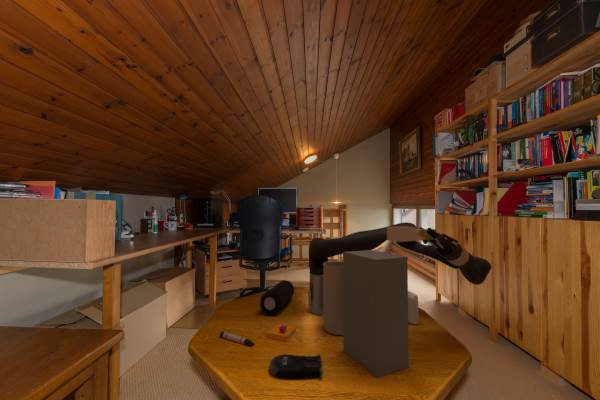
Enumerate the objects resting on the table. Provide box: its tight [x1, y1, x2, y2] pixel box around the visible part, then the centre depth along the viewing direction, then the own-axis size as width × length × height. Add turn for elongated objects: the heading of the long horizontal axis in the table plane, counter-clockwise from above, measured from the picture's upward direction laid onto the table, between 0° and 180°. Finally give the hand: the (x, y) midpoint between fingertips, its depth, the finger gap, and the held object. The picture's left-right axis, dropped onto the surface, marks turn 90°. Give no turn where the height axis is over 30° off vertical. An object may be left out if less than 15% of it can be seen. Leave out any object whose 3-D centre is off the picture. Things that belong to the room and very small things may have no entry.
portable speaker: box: [259, 279, 295, 315], centre depth 128 cm, size 26×10×10 cm, turn 165°
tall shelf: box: [342, 249, 410, 378], centre depth 83 cm, size 12×16×32 cm
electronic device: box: [268, 353, 324, 380], centre depth 76 cm, size 9×6×15 cm
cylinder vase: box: [322, 260, 343, 336], centre depth 104 cm, size 12×12×25 cm
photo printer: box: [408, 290, 420, 325], centre depth 112 cm, size 10×4×12 cm, turn 39°
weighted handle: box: [386, 226, 437, 243], centre depth 92 cm, size 19×5×4 cm, turn 115°
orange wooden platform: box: [266, 323, 297, 343], centre depth 98 cm, size 8×8×4 cm
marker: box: [219, 331, 255, 347], centre depth 93 cm, size 15×2×2 cm, turn 61°
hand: (424, 229), depth 94 cm, fingers closed on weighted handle, 3 cm apart
